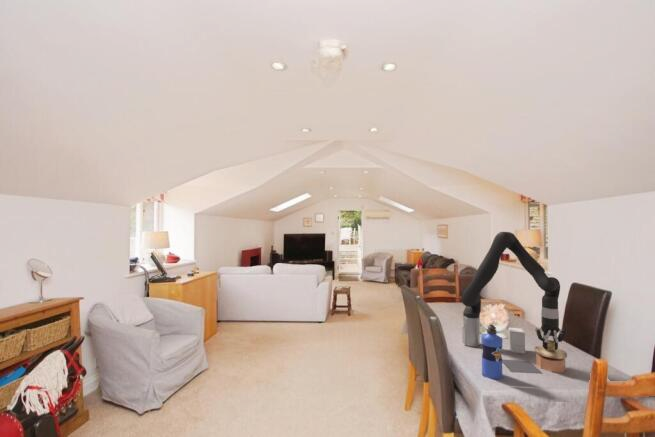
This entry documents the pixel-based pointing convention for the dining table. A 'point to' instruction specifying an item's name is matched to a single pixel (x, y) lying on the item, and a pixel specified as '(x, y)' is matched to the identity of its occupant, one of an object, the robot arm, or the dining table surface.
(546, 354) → the lid
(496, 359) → the water bottle
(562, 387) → the dining table surface
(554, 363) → the bowl
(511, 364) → the mat
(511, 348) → the supplement box
